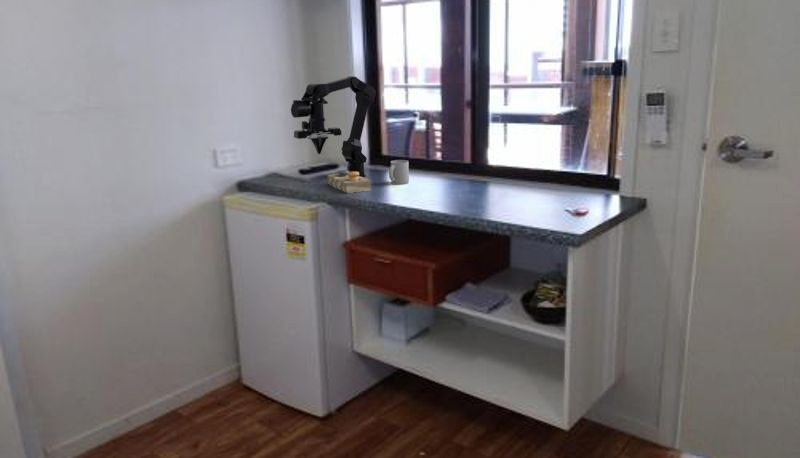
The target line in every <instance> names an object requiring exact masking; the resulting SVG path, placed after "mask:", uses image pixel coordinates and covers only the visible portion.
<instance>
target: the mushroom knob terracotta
mask: <svg viewBox="0 0 800 458" xmlns="http://www.w3.org/2000/svg"><path fill="white" fill-rule="evenodd" d="M358 175H359V172H348V173H347V176H349V181H358Z"/></svg>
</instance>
